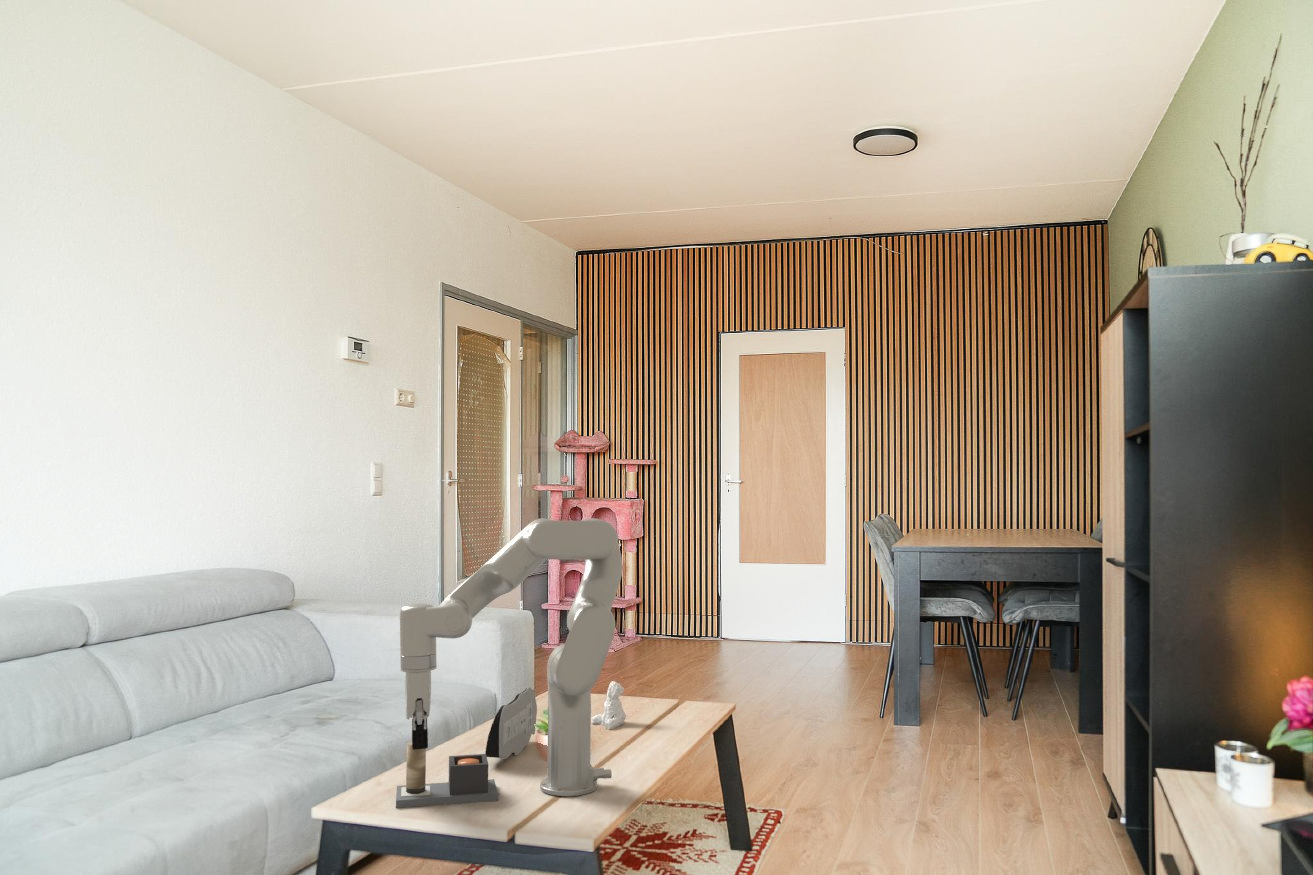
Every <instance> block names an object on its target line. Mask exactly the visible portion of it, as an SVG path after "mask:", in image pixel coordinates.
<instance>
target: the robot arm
mask: <svg viewBox="0 0 1313 875" xmlns="http://www.w3.org/2000/svg"><path fill="white" fill-rule="evenodd" d="M547 560H557V561H558V560H559V561H560V560H563V561H566V560H568V561H570V560H571V561H574V560H584V570H583V574H582V577H581V581H580V583H579V587H578V589H577V591H576V594H575V596H574V599H573V601H572V604H571V606H570V609H569V611H568V613H567V617H566V625H567V629H568V631H569V632H568V634H567V637H566V641H565V643H562V644H559V645H558V646H556V647H555V648H554V649H553V650H552V652H550V655H549V657H548V659H547V663H546V664H547V665H546V680H547V713H548V714H547V769H546V770H547V773H546V775H547V777H545V778H544V779H542V780H541V781H540V783H539V784H540V786H539V788H540V790H541V791H542V792H543V793H545V794H548V795H551V796H557V797H576V796H583V795H586V794H590V793H592V792H594V791H595V790H596V789H597V788H598V780H599V779H604V780H606V779H612V769H611V768H610V769H609V768H608V769H605V768H604V767H595V768H594V767H593V766H592V763H591V740H592V738H591V730H592V726H591V724H592V723H591V717H592V699H591V698H592V694H591V690H593V688H594V686H595V685H596V684H597V681H598V680H599V677H600V676H601V672H602V670H603V668H604V666H605V662H606V659H607V656H608V653H609V651H610V649H611V648H610V647H611V646H612V643H613V640H614V637H615V632H616V620H615V616H614V614H613V612H612V608H613V605H614V602H615V600H616V597H617V593H618V590H619V587H620V583H621V579H622V575H623V558H622V553H621V550H620V546H619V535H618V532H617V530H616V528H615V527H614V525H612V524H611V523H610V522H608V521H606V520H603V519H599V518H596V517H595V518H594V517H591V518H586V519H584V520H557V519H556V520H555V519H549V518H540V517H539V518H537V519H535V520H533V521H531V522H529V523H528V524H527V525H526V526H525V527H524V528H523V529H522V530H521V531H520V532H519V533H517V534H516V535H515V536H514V537H513V538H512V539H511V540H510V541H508V543H507V544H505V545H504V546H503V547H502V548H501V549H499V551H498V552H497V553H496V554H494V555H493V556H492V557H491V558H490V559H489V560H488V561H486V562H485V563H484V564H483V565H481V567H480V568H478V570H477V571H475V572H474V573H473V574H471V576H469V577H468V578H467V579H466V580H464V582H463V583H461V584H460V585H459V586H458V587H457V588H456V589H454V590H453V591H452V592H451V594H448V596H447V597H446V598H445V599H444V600H442V602H440V604H439V605H437V606H434V605H432V604H430V603H412V604H407V605H404V606H403V607H401V608H400V611H399V640H400V641H399V643H400V644H399V646H400V648H399V649H400V651H399V652H400V654H399V655H400V671H401V672H403V673H405V678H404V679H405V680H404V682H405V683H404V686H405V690H404V691H405V692H404V693H405V718H406V720H410V719H411V718H412V719H411V722H412V723H411V726H412V727H411V728H412V730H411V740H412V741H411V742H412V749H413V750H416V749H426V750H427V749H428V747H429V732H428V731H429V730H428V718H429V717H430V713H431V712H430V711H431V700H432V699H431V698H432V671H433V670H434V671H435V670H436V669H437V666H438V665H437V638H438V639H439V638H441V639H451V640H452V639H453V640H454V639H459V638H462V637H464V636H465V635H467V634H468V633H469V631H470V630H471V629H472V624H473V618H475V617H476V616H477V615H478V614H479V613H480V612H481V611H482V610H483V609H484V608H486V607H487V606H488V605H489V604H490V603H491V602H493V601H494V600H496V599H497V598H499V597H501V596H504V595H506V594H509V593H510V592H512V591H513V590H515V589H516V588H517V587H519V586H520V585H521V583H523V582H524V581H525V580H526V579H527V578H528V577H529V576H530V575H531V574H533V573H534V572H535V571H536V569H538V568H539V567H540V566H541V565H542V564H543V563H545V562H546V561H547Z"/></svg>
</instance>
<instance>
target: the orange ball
mask: <svg viewBox="0 0 1313 875" xmlns="http://www.w3.org/2000/svg"><path fill="white" fill-rule="evenodd" d="M477 763H479V760H478V759H473V758H468V759H461V760H459V761H458V765H461V764H477Z"/></svg>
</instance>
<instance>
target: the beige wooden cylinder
mask: <svg viewBox="0 0 1313 875" xmlns="http://www.w3.org/2000/svg"><path fill="white" fill-rule="evenodd" d="M426 760H427V748H426V749H416V750H413V749H412V741H409V742H407V743H406V764H405V765H406V766H405V767H406V772H405V774H406V776H405V785H406V792H407V793H409V794H418V793H422V792H424V791H425V784H426V772H427V769H426V765H427V764H426V763H427V762H426Z"/></svg>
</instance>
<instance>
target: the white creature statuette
mask: <svg viewBox="0 0 1313 875" xmlns="http://www.w3.org/2000/svg"><path fill="white" fill-rule="evenodd" d="M606 691H607V692H606V699H605V702H604V703H603V710H604V711H603V713H601V714H600V713H599V714H595V715H594V716H591V724H592V725H600V726H603V727H604V728H605V730H608V731H611V730H614V729H616V728H618V727H620V726H622V725H623V724H624V723H625V720H626V718H627V714H626V713H625V711H624V708H623V706H622V701H621V699H620V698H619V697H620V696H621V695H623V693H624V692H625V688H624V687H623V686H622V684H621V683H618V682H617V681H612V680H611V682H610V683H609V684H608V688H607V690H606Z"/></svg>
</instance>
